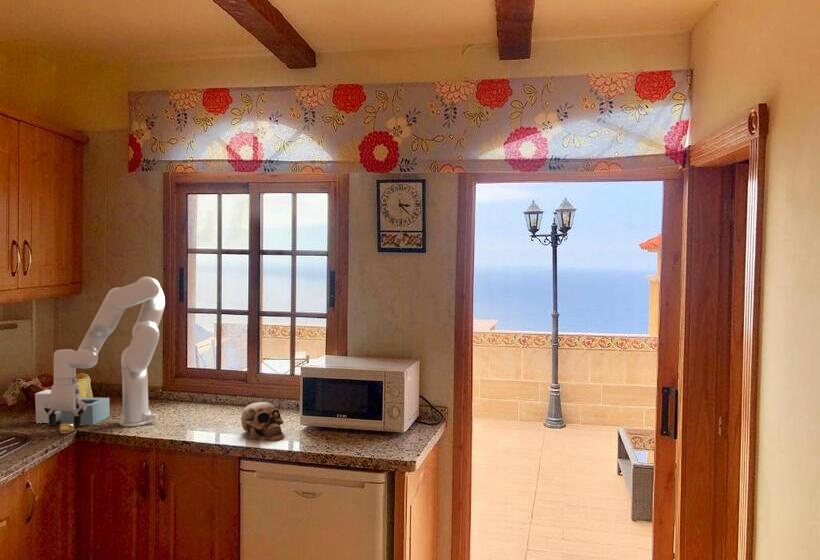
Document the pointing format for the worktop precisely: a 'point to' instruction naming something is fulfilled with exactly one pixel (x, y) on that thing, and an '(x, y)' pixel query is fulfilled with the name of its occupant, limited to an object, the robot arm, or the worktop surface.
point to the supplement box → (40, 412)
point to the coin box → (89, 411)
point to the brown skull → (262, 422)
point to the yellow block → (66, 427)
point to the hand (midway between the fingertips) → (64, 425)
